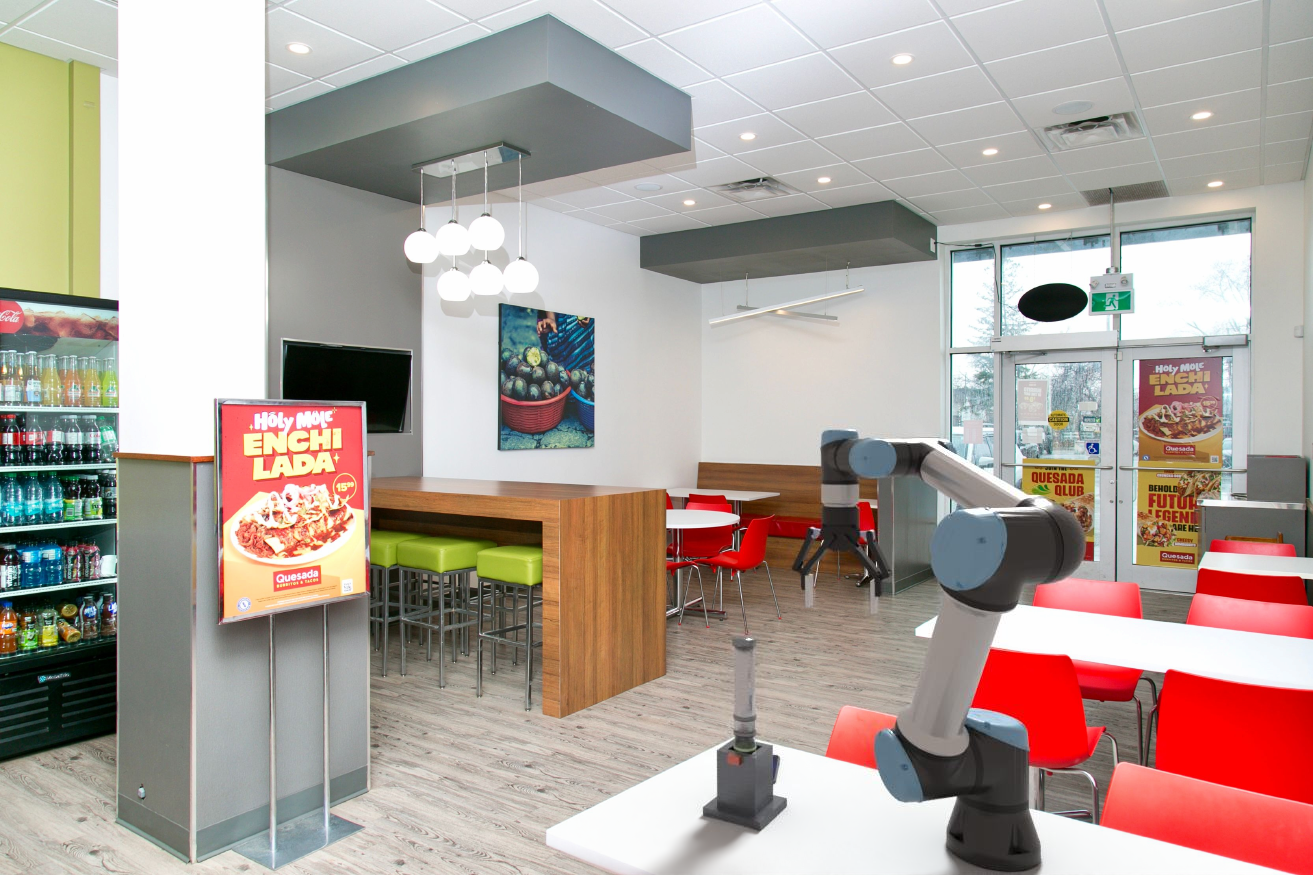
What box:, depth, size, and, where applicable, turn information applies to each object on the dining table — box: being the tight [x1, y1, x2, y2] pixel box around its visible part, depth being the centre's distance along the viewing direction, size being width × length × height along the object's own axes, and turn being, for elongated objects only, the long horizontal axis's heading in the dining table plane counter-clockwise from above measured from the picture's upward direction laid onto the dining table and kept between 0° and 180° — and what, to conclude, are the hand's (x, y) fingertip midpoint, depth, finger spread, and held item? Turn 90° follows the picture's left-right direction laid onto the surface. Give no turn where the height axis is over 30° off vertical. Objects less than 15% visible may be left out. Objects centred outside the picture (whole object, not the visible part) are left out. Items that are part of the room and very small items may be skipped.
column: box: [731, 635, 758, 754], centre depth 156 cm, size 5×5×23 cm
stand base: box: [702, 737, 788, 832], centre depth 156 cm, size 12×12×12 cm
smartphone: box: [773, 754, 781, 785], centre depth 176 cm, size 7×1×15 cm
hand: (841, 609), depth 165 cm, fingers open, 13 cm apart
